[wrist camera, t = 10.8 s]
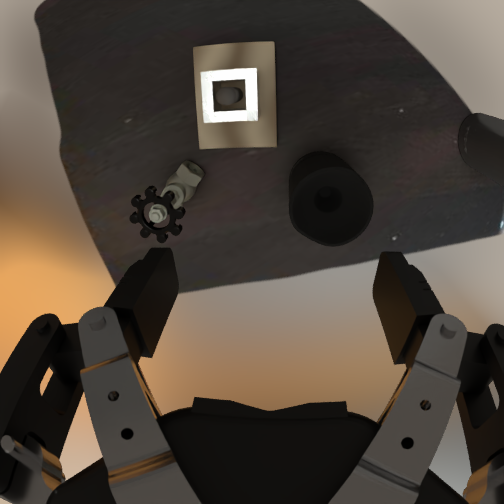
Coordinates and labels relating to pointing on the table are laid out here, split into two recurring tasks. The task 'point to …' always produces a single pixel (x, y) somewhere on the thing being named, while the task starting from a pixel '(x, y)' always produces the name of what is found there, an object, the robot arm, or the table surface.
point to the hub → (217, 114)
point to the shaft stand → (238, 94)
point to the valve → (167, 201)
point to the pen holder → (328, 200)
